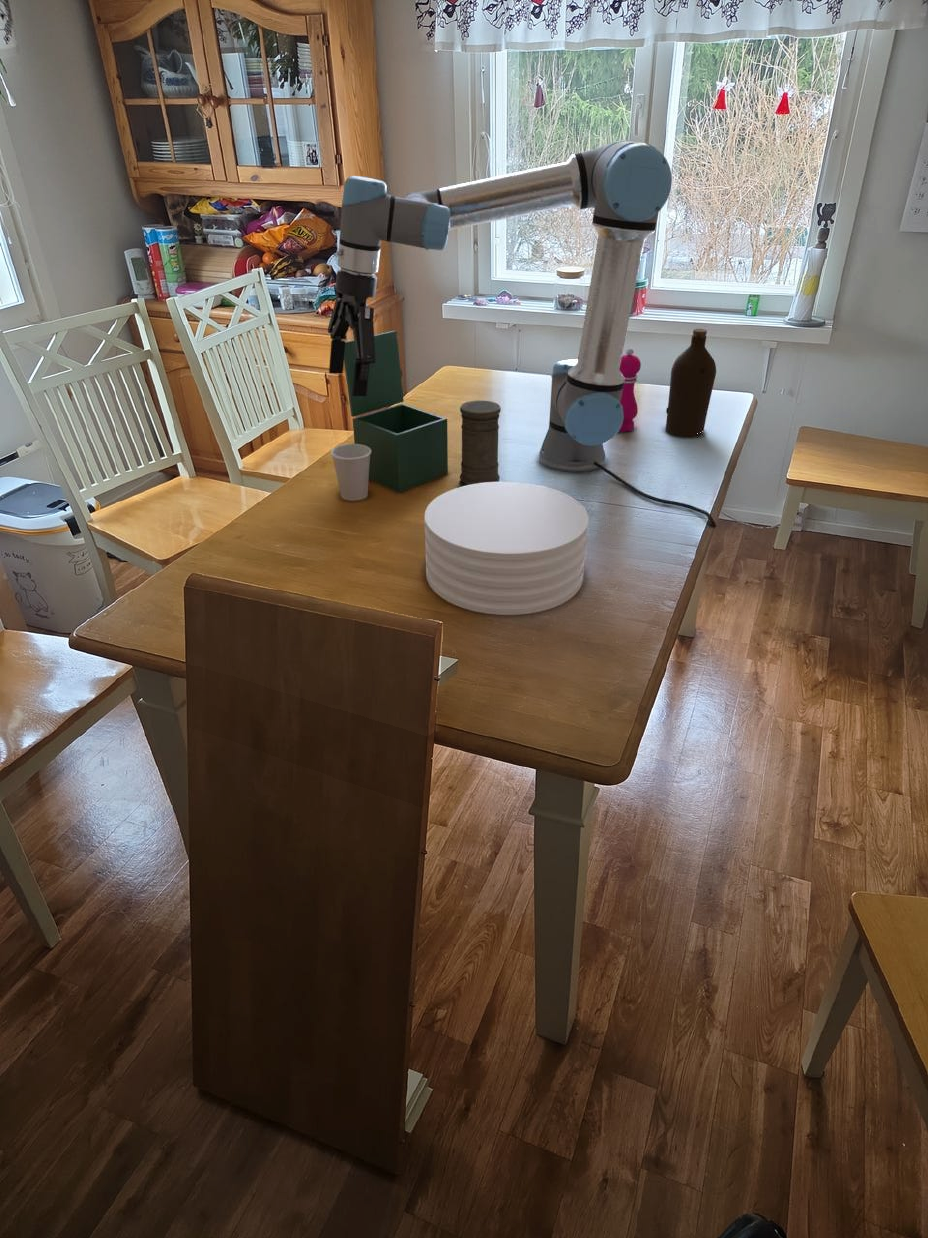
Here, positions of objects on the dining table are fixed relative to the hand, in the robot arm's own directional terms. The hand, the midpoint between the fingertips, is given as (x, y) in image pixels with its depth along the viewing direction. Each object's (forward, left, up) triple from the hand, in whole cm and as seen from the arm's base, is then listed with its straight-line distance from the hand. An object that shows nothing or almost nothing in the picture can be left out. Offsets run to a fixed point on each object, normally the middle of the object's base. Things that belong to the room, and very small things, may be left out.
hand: (347, 383), depth 159 cm
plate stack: (-47, +4, -23) cm, 53 cm away
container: (-18, -20, -23) cm, 36 cm away
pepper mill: (-18, -73, -23) cm, 79 cm away
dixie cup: (-2, +2, -23) cm, 23 cm away
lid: (+7, -13, -2) cm, 15 cm away
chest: (0, -13, -23) cm, 27 cm away
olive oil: (-31, -82, -23) cm, 91 cm away
